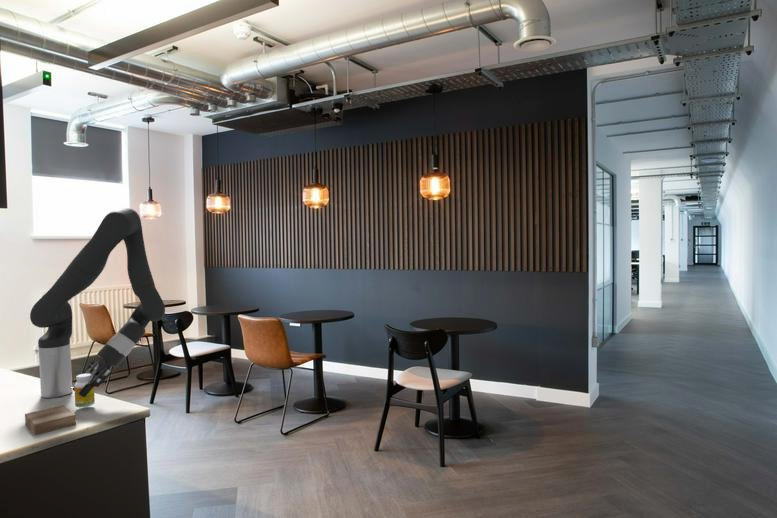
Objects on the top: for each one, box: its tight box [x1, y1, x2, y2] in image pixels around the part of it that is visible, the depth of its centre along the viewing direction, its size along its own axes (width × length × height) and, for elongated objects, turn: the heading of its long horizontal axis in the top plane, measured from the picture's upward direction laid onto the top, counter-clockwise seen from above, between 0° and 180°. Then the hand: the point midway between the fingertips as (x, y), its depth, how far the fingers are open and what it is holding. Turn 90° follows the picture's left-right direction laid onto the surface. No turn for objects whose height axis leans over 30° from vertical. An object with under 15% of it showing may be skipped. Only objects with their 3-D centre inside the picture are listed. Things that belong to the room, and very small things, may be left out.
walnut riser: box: [24, 404, 77, 436], centre depth 149 cm, size 12×10×3 cm
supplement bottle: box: [73, 373, 96, 408], centre depth 162 cm, size 5×5×10 cm
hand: (78, 393), depth 161 cm, fingers closed on supplement bottle, 5 cm apart
